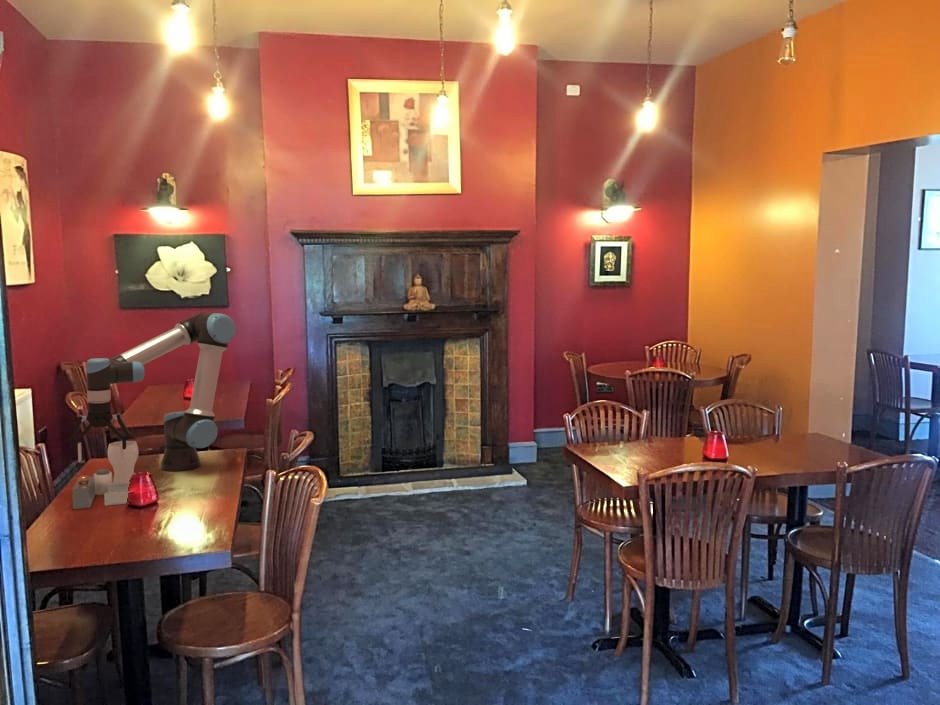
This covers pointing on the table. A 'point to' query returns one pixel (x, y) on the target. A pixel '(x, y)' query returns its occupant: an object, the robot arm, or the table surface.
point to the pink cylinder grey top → (102, 481)
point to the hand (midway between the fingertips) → (101, 459)
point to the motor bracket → (86, 493)
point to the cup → (123, 460)
